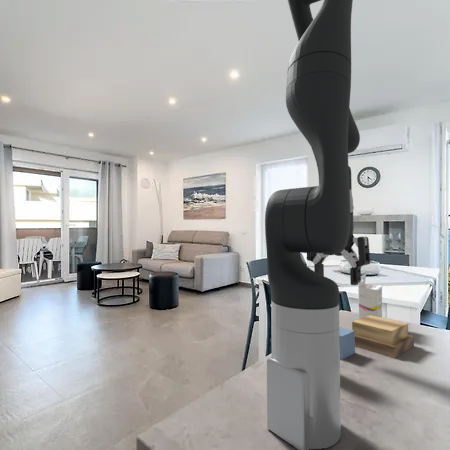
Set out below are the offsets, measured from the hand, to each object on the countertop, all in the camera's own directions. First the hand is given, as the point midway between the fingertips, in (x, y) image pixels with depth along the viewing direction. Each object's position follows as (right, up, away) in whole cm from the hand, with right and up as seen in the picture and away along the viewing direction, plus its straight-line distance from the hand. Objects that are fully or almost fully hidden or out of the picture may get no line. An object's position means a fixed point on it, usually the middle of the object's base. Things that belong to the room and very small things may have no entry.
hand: (336, 282), depth 67 cm
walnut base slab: (+12, -16, +4) cm, 21 cm away
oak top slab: (+12, -13, +4) cm, 18 cm away
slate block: (0, -16, 0) cm, 16 cm away
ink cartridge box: (+16, -16, +16) cm, 28 cm away
